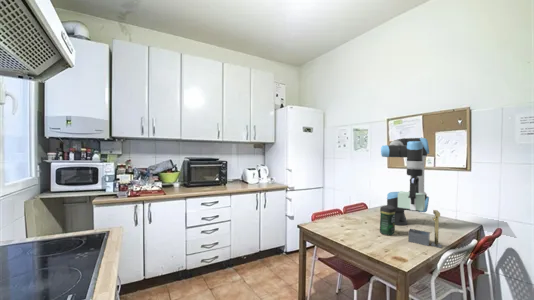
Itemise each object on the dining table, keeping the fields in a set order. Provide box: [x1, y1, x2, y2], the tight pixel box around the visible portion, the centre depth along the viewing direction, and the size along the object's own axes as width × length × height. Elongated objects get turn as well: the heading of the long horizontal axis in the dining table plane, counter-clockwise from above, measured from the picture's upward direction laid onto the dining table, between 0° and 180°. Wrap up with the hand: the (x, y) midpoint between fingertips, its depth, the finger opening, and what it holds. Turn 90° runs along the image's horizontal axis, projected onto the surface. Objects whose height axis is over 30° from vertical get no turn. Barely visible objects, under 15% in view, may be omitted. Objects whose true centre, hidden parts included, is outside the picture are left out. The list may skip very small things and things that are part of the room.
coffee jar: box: [379, 204, 396, 236], centre depth 152 cm, size 10×8×19 cm
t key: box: [432, 209, 441, 245], centre depth 133 cm, size 8×2×19 cm, turn 154°
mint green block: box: [398, 190, 425, 211], centre depth 130 cm, size 12×9×8 cm
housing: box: [407, 228, 442, 249], centre depth 136 cm, size 16×7×6 cm, turn 50°
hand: (414, 208), depth 129 cm, fingers closed on mint green block, 9 cm apart
